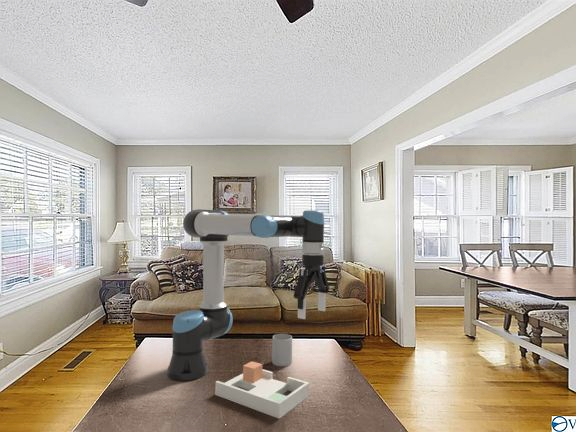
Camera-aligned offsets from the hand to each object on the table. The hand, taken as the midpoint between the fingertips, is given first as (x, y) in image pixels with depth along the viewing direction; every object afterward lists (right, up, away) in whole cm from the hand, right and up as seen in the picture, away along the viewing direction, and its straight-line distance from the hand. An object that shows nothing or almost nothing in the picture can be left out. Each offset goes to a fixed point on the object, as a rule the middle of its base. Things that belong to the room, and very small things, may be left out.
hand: (312, 314), depth 130 cm
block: (-21, -25, +5) cm, 33 cm away
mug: (-11, -28, +29) cm, 42 cm away
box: (-17, -27, -3) cm, 32 cm away
